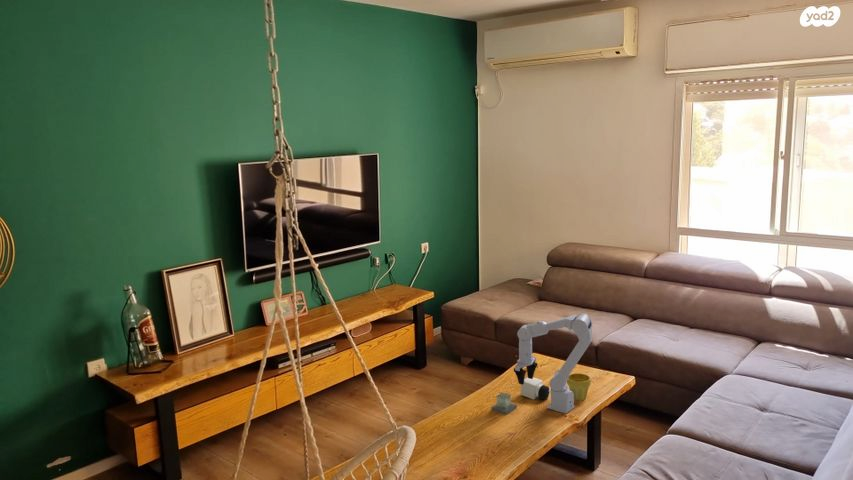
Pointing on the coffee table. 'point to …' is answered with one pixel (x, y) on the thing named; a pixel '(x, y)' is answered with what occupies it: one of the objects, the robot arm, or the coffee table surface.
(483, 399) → the coffee table surface
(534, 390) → the medicine bottle
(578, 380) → the plant pot
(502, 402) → the grey green cube
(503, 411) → the block
